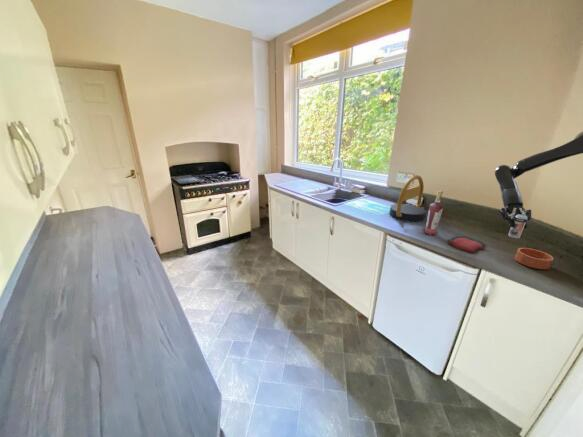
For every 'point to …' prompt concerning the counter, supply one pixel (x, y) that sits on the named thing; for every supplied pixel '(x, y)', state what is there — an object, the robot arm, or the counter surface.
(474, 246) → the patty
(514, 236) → the beer can
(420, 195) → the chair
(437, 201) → the liquor
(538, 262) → the bowl
